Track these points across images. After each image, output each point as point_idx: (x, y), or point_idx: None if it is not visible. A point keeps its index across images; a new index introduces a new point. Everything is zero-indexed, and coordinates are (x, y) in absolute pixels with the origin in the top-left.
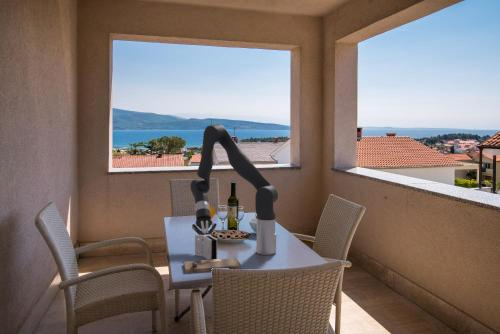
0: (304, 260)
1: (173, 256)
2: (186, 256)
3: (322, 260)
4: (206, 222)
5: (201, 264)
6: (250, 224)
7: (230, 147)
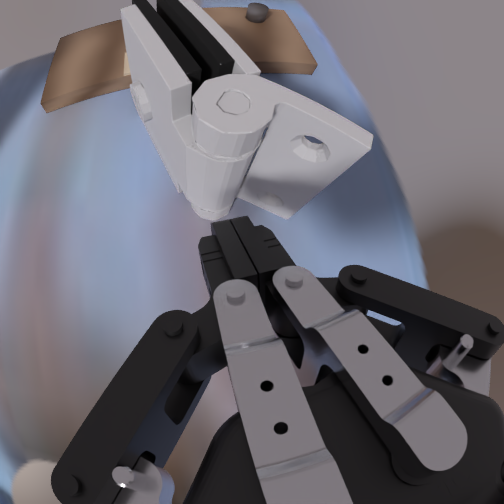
0: None
1: (396, 195)
2: (336, 187)
3: None
4: (321, 483)
5: (228, 29)
6: None
7: None
